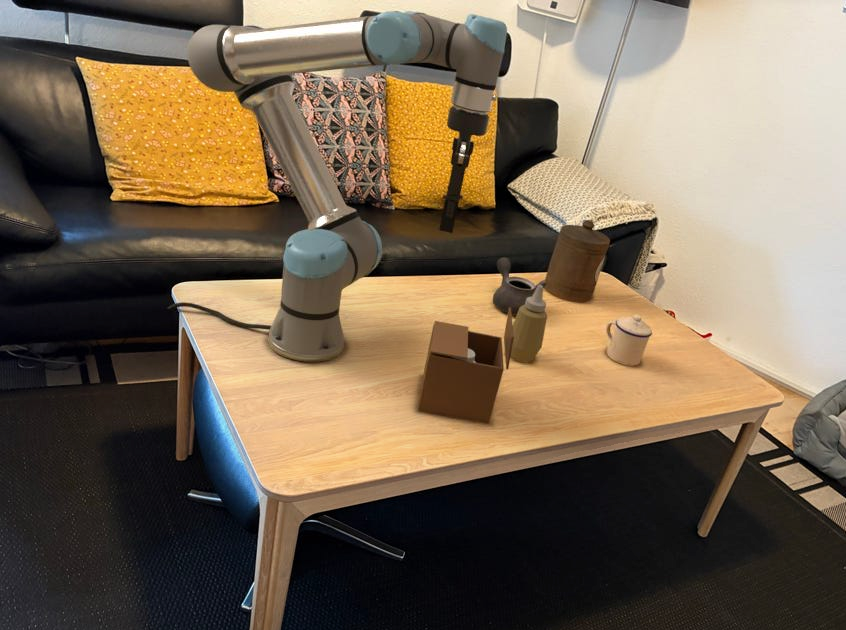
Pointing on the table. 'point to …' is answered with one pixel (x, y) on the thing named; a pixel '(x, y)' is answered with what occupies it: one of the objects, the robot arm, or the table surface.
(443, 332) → the flap
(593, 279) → the wooden container
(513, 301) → the teapot
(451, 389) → the carton
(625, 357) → the teacup with lid
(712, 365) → the table surface
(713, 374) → the table surface
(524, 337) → the squeeze bottle
